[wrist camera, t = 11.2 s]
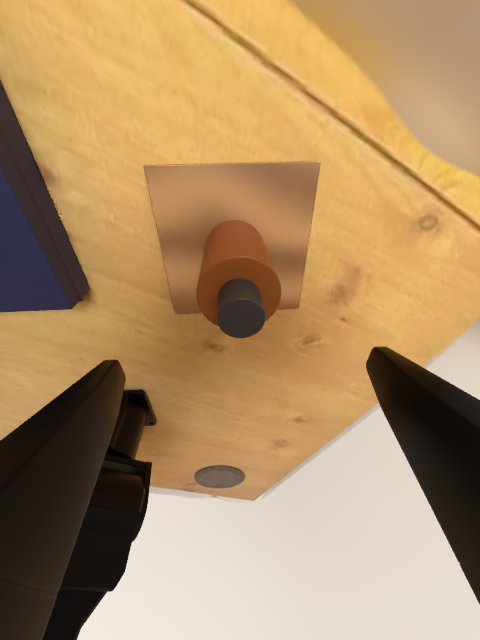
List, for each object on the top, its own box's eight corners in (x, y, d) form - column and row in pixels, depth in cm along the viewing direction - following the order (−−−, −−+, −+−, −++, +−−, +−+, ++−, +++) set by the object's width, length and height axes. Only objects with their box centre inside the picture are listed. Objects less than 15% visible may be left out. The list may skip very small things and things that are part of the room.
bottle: (262, 276, 19) (285, 353, 12) (208, 278, 19) (197, 357, 12) (265, 218, 17) (296, 272, 9) (202, 220, 17) (184, 276, 9)
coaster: (297, 306, 22) (298, 308, 21) (175, 311, 21) (175, 314, 21) (318, 161, 15) (321, 161, 15) (145, 165, 15) (143, 165, 15)
